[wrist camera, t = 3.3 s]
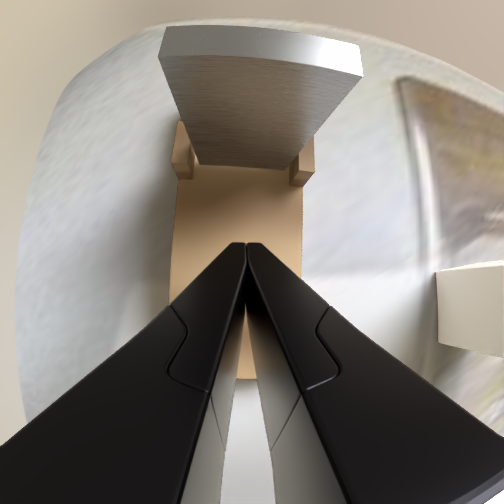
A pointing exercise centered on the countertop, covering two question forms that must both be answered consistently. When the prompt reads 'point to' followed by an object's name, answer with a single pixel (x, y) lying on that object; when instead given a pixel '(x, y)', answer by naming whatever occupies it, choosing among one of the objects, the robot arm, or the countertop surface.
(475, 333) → the milk
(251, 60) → the lever cap
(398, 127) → the countertop surface
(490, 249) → the countertop surface
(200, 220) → the body
